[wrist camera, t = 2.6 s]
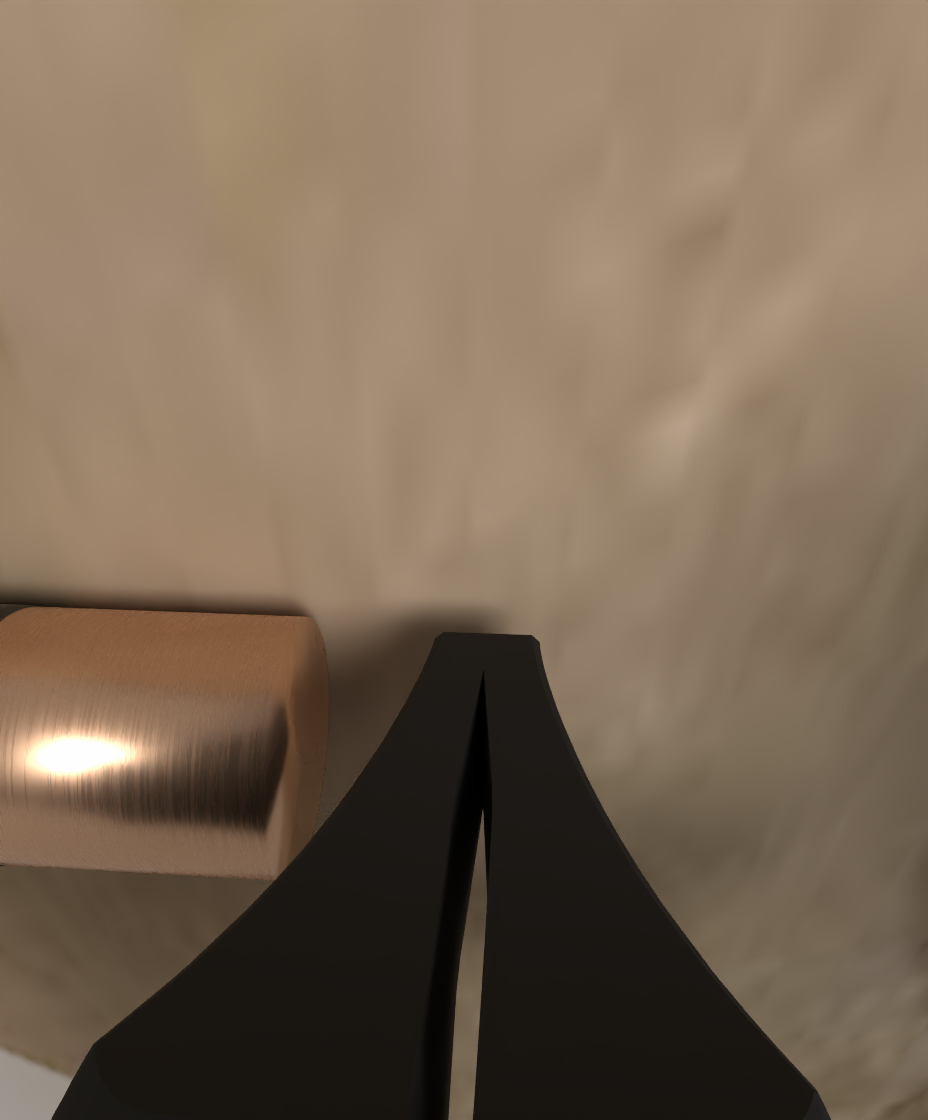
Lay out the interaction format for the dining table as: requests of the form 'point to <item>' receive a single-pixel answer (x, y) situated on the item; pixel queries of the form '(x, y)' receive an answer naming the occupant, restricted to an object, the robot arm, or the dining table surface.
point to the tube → (160, 740)
